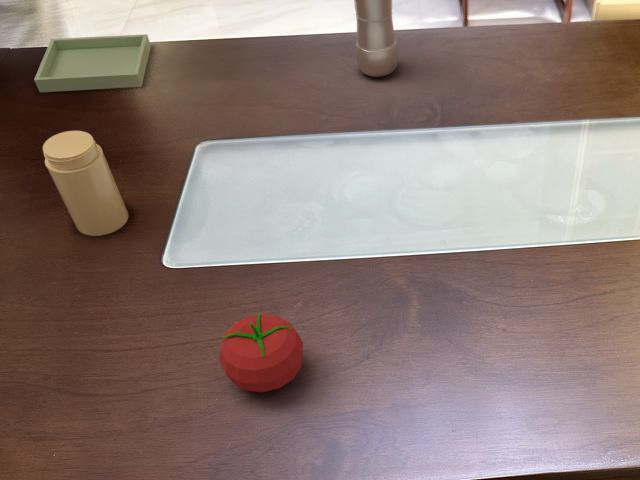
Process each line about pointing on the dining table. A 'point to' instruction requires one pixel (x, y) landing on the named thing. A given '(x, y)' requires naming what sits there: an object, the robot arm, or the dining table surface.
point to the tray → (93, 63)
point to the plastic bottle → (375, 37)
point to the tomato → (261, 353)
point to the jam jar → (85, 182)
